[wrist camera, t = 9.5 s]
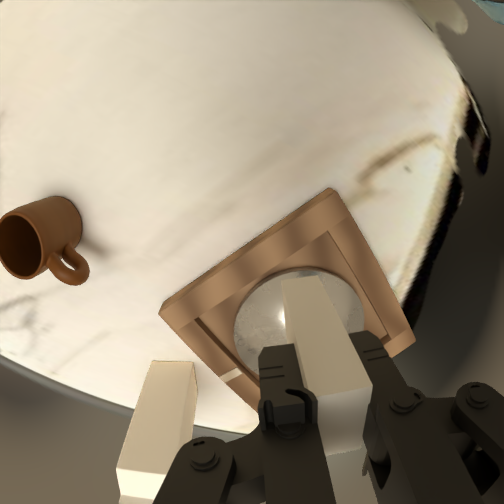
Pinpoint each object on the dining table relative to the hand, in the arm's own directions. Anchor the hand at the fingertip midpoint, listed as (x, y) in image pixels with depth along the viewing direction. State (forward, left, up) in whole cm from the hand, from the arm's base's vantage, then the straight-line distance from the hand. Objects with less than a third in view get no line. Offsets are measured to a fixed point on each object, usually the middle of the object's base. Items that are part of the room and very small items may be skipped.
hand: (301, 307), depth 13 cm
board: (+5, +14, -23) cm, 28 cm away
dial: (+5, +14, -22) cm, 26 cm away
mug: (+21, -12, -24) cm, 33 cm away
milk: (+24, +12, -24) cm, 36 cm away
